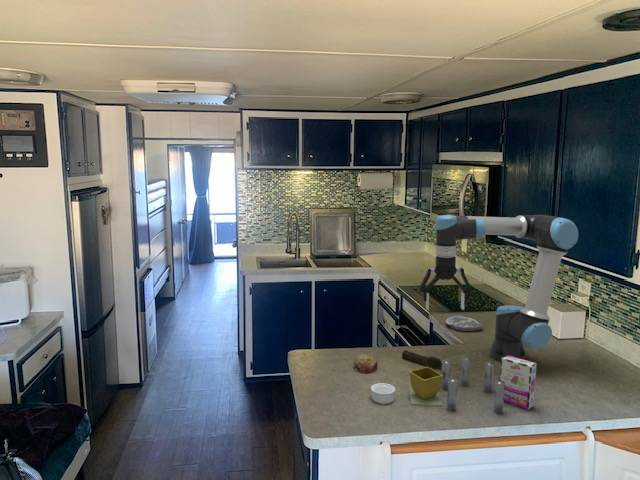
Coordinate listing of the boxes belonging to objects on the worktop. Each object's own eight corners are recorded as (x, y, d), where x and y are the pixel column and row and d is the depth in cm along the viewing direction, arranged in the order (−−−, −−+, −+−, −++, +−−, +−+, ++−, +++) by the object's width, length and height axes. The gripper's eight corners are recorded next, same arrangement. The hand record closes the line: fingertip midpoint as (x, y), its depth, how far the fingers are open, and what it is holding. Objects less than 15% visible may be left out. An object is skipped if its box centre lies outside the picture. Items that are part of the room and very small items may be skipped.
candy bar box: (534, 406, 182) (537, 362, 180) (528, 411, 179) (531, 367, 176) (504, 395, 190) (507, 354, 187) (498, 400, 187) (501, 357, 184)
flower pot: (422, 403, 183) (423, 380, 181) (408, 393, 191) (408, 370, 189) (442, 398, 187) (443, 375, 185) (426, 388, 195) (427, 366, 193)
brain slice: (436, 325, 269) (437, 319, 268) (459, 319, 278) (459, 314, 278) (465, 336, 253) (466, 330, 252) (488, 330, 262) (488, 324, 261)
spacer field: (488, 384, 200) (490, 357, 198) (503, 414, 177) (505, 384, 175) (439, 381, 201) (440, 355, 200) (447, 411, 179) (448, 381, 177)
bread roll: (351, 375, 216) (346, 361, 212) (365, 359, 222) (360, 345, 218) (370, 382, 209) (365, 368, 206) (383, 365, 215) (379, 351, 212)
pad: (437, 389, 195) (437, 388, 195) (442, 406, 182) (442, 405, 182) (408, 388, 196) (408, 387, 196) (411, 404, 183) (411, 403, 183)
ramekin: (369, 393, 192) (370, 382, 191) (393, 393, 192) (393, 383, 191) (371, 404, 183) (371, 393, 182) (396, 405, 183) (396, 394, 182)
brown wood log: (401, 359, 224) (401, 349, 223) (406, 357, 226) (406, 347, 226) (438, 372, 211) (439, 362, 210) (443, 369, 213) (444, 359, 213)
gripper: (414, 258, 193) (413, 311, 197) (481, 257, 191) (479, 311, 195) (411, 254, 200) (411, 305, 204) (476, 253, 199) (475, 305, 202)
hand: (444, 308), depth 200 cm, fingers open, 13 cm apart
